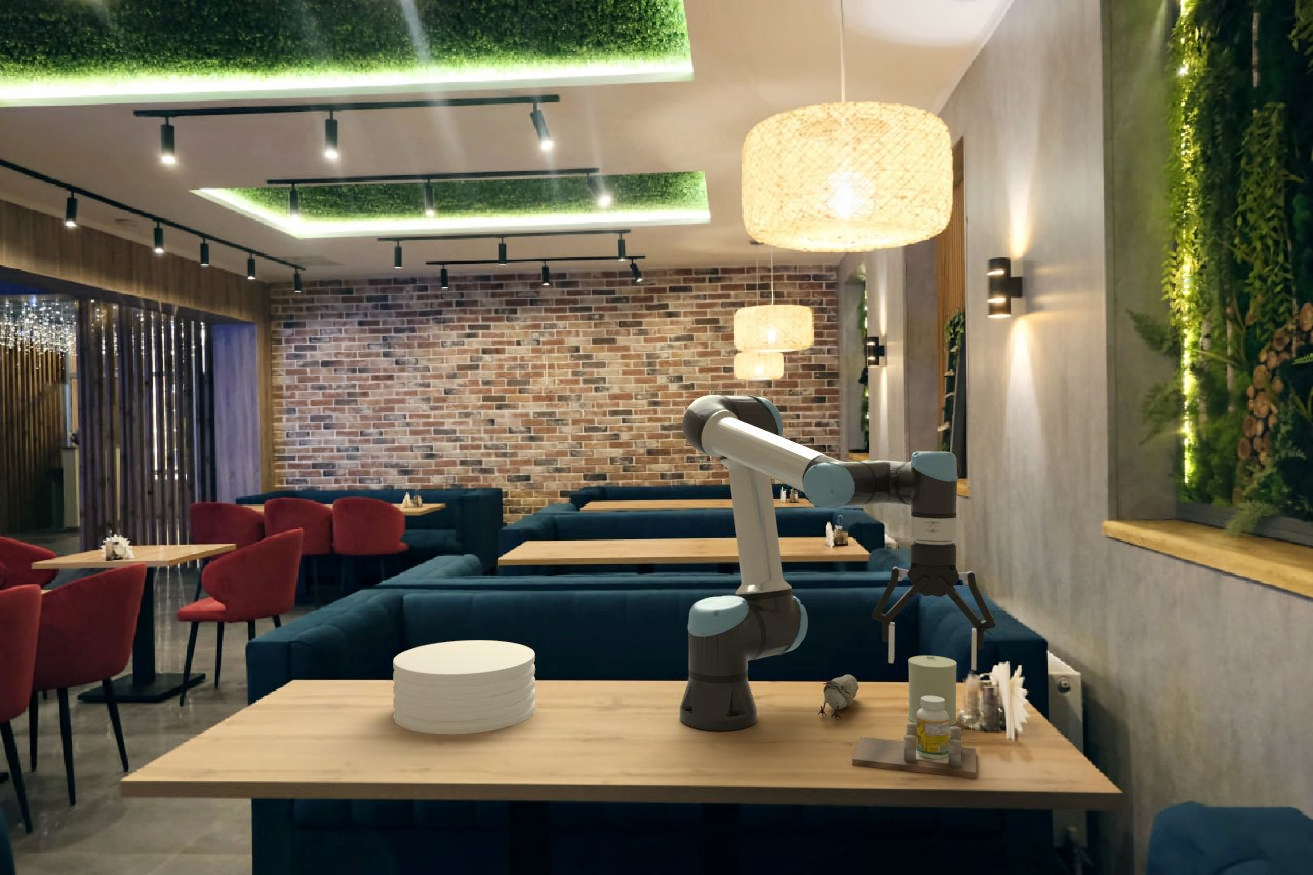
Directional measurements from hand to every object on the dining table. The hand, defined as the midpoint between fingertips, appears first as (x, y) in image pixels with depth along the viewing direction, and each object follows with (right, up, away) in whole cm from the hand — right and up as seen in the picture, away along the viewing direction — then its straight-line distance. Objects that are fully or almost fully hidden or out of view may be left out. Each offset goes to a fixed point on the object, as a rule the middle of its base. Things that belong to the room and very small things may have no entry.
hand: (932, 664), depth 161 cm
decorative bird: (-10, -17, +30) cm, 36 cm away
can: (+7, -17, +23) cm, 29 cm away
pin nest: (-3, -17, +1) cm, 17 cm away
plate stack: (-86, -17, +29) cm, 92 cm away
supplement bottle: (0, -16, 0) cm, 16 cm away
